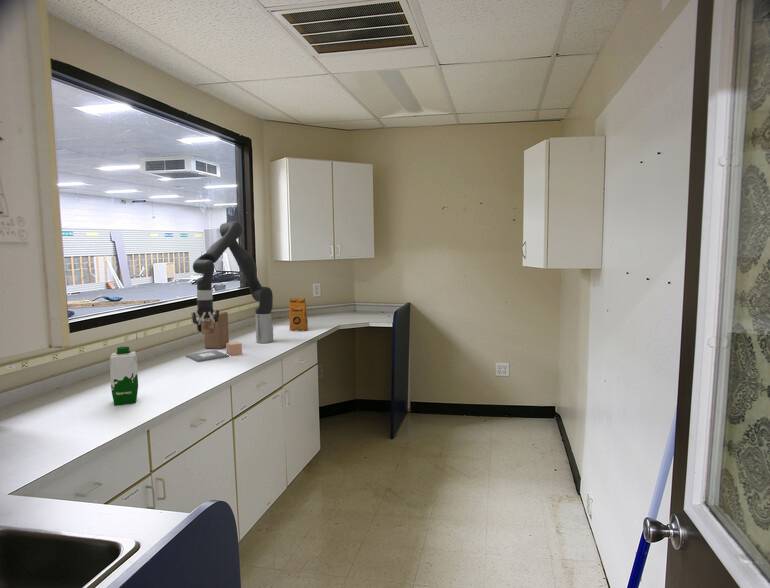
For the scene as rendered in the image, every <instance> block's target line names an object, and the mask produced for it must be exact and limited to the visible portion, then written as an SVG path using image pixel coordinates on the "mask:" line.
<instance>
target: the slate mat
mask: <svg viewBox="0 0 770 588" xmlns="http://www.w3.org/2000/svg"><path fill="white" fill-rule="evenodd" d="M229 356H230V355H227V354H226V353H224V352H222V351H218V350H217V349H213V350H210V351H209V350H208V351H201V352H196V353H187V354H185V357H186V358H188V357H189V359H190V358H191V360H192V359H193V360H192V361H195V362H197V363H200V362H201V363H202V362H206V360H207V361H211V360H212V359H213V360H218V358H219V359H224V357H225V358H229ZM213 360H212V361H213Z"/></svg>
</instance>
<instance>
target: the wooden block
mask: <svg viewBox="0 0 770 588" xmlns="http://www.w3.org/2000/svg"><path fill="white" fill-rule="evenodd" d="M228 315H229V313H228V312H227V311H221V310H219V317H218V321H217V322H215V329H214V333H209V334H203V336H204V349H210V348H213V350H220V349H223V348H226V343H230V341H229V340H230V339H229V316H228ZM214 316H215V314H214V312H213V314H212V317H213V319H214ZM205 320H209V318H205V319H203V321H205Z"/></svg>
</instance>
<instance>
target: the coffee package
mask: <svg viewBox="0 0 770 588" xmlns="http://www.w3.org/2000/svg"><path fill="white" fill-rule="evenodd" d="M306 304H307V303H306V299H305V297H303V298H293V297H292V298H289V306H288V307H289V309H288V314H289V315H288V317H289V328H288V329H289V331H294V330H298V331H297V332H302V331H301V330H306V331H307V329H309V327H308V326H309V325H308V323H309V321H308V315H307V313H308V311H307V305H306Z"/></svg>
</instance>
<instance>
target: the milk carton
mask: <svg viewBox="0 0 770 588" xmlns="http://www.w3.org/2000/svg"><path fill="white" fill-rule="evenodd" d="M116 351H117V352H113V353H111V355H110V358H109V359H110V360H109V369H110V370H109V373H110V389H111V396H112V400H113V401H112V402H113V406H121V405H129V404H136V403H137V398H138V389H139V374H138V360H137V354H136V351H132V350H131V351H130V346H120V347H117V348H116Z"/></svg>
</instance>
